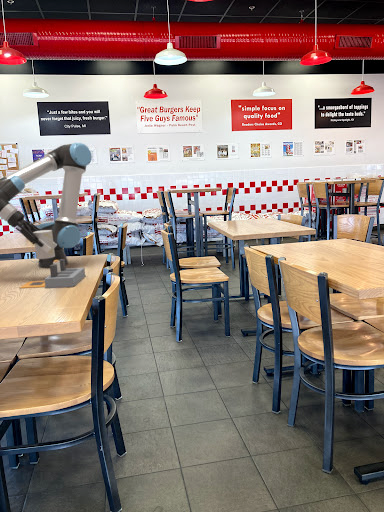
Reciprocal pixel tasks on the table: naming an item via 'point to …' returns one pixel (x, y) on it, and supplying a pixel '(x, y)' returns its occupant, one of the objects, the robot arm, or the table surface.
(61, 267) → the grey switch box
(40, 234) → the white closed cylinder
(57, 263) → the toggle
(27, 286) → the pad
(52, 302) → the table surface
